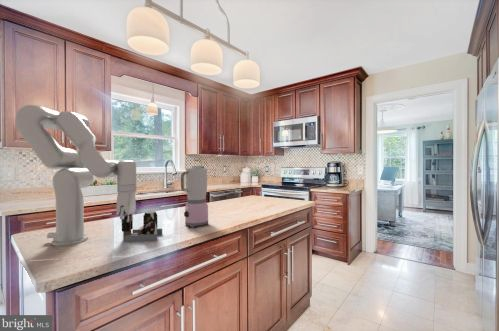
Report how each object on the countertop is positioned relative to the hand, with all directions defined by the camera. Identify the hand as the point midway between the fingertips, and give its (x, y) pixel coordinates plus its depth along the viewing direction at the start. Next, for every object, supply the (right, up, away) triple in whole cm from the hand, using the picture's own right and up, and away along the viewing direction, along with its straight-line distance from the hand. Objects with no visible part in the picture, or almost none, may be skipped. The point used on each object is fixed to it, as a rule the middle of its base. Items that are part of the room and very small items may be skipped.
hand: (127, 229), depth 105 cm
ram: (+3, -4, 0) cm, 5 cm away
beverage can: (+10, -4, +1) cm, 11 cm away
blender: (+24, -4, +23) cm, 34 cm away
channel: (+7, -4, +1) cm, 8 cm away
